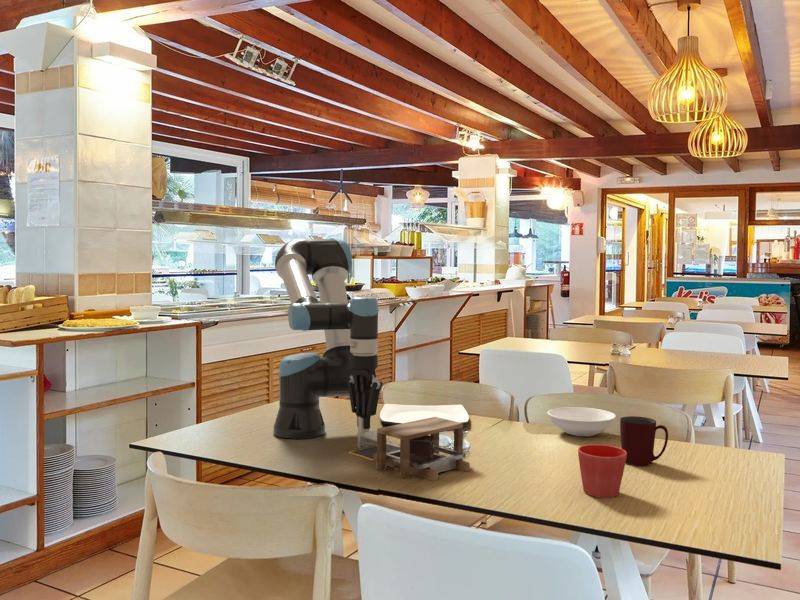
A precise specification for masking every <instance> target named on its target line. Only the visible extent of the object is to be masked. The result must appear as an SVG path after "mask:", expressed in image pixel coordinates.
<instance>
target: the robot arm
mask: <svg viewBox="0 0 800 600" xmlns="http://www.w3.org/2000/svg"><path fill="white" fill-rule="evenodd" d="M352 259H353V256H352V251H351V248H350V246H349V243H348V242H347V241H346V240H344V239H339V238H338V239H336V238H300V237H299V238H295V239H293V240H290V241H289V242H286V243H284V245H283V246H282V247H281V248H279V251H277V254H276V256H275V260H274V267H275V272H276V274H277V275H278V277H279V278H281V280H282V281H283V284H284V287H285V290H286V292H287V295H288V298H289V301H290V303H291V304H290V305H289V306H288V312H287V317H288V319H287V320H288V326H289V328H290V329H291V330H292V331H303V332H307V331H323V332H324V337H325V346H326V349H325V350H324V351H323V352H322V357H321V356H320V354H319V353H318V352H300V353H295V354H290V355H287V356H284V357H283V358H282V359H281V360H280V362H279V371H278V377H279V378H278V379H279V380H278V381H279V382H278V383H279V388H278V389H279V393H278V394H279V398H278V399H279V402H278V403H279V405H278V406H279V408H278V411H277V415H276V417H275V421H274V424H273V427H272V428H273V429H272V430H273V435H274V436H275V437H278V438H281V439H289V440H290V439H292V440H293V439H294V440H297V439H298V440H299V439H301V440H302V439H303V440H304V439H312V438H317V437H320V436H323V435H324V434H325V433H326V425H325V421H324V418H323V414H322V411H321V408H320V398H322V397H344V396H348V397H349V400H350V408H351V412H352V413H354V414H355V415H356V421H357V422H356V426H357V428H358V429H357V434H358V433H360V432H365V431H369V430H371V429H370V428H371V417H373V416H376V415H377V409H378V404H379V397H380V392H381V388H382V386H383V382H382V381H379V380H378V379H377V374H376V370H377V368H378V367H379V365H378V364H379V363H378V362H379V361H378V360H379V359H378V358H379V356H378V355H377V353H378V352H379V338H378V337H379V336H378V335H379V334H378V333H379V330H378V329H379V328H378V327H379V321H378V320H379V305H378V299H377V298H376V297H370V296H355V297H354V296H353V297H351V299H350V301H348V295H347V287H346V282H345V281H346V280H347V279H348V277H349V275H350V273H351V272H352V269H353V260H352ZM309 276H311V277H312V279H310V277H309ZM311 280H312V282H314V284H315V285H317V288H318V295H319V299H318V297H317V294H316V292H315V289H314V286H313V284H312V282H311ZM319 301H320V302H319Z"/></svg>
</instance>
